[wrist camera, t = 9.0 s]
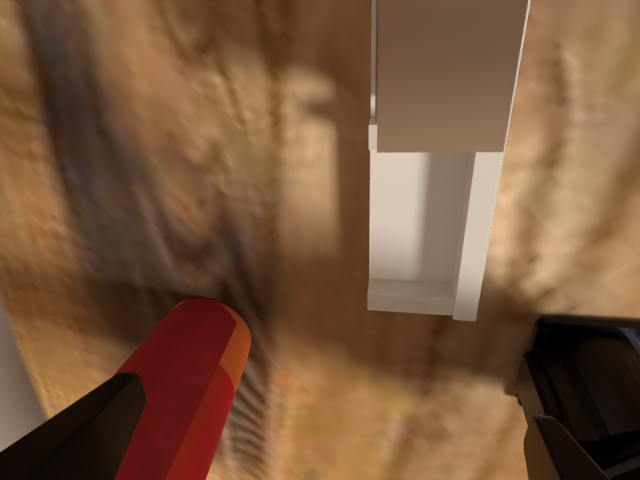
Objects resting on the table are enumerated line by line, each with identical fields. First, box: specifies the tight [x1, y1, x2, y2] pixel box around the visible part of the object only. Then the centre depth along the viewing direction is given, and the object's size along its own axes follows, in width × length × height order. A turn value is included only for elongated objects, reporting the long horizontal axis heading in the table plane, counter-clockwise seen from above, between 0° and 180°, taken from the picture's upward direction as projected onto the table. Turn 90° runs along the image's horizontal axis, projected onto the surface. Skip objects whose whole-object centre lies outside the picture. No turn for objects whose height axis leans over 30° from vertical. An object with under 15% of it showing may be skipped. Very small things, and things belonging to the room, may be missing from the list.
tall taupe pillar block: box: [375, 0, 528, 153], centre depth 12 cm, size 6×3×7 cm, turn 3°
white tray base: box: [367, 0, 531, 321], centre depth 17 cm, size 5×17×3 cm, turn 4°
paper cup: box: [114, 297, 251, 480], centre depth 21 cm, size 8×8×14 cm
